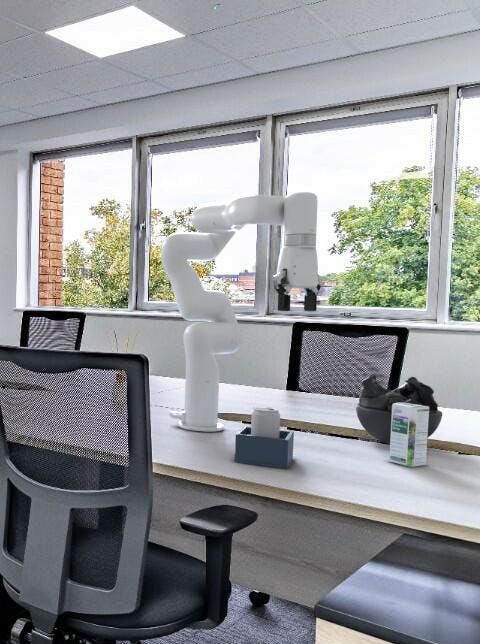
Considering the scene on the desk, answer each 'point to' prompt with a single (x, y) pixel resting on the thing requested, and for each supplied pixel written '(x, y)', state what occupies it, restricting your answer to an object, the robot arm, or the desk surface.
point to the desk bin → (264, 449)
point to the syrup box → (409, 434)
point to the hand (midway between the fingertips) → (297, 310)
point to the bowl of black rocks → (379, 400)
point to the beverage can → (265, 422)
